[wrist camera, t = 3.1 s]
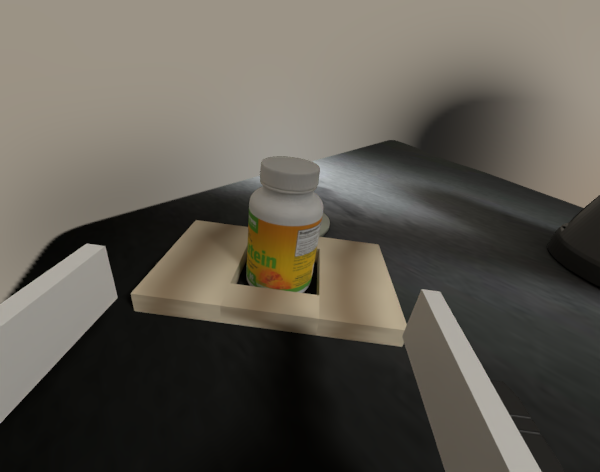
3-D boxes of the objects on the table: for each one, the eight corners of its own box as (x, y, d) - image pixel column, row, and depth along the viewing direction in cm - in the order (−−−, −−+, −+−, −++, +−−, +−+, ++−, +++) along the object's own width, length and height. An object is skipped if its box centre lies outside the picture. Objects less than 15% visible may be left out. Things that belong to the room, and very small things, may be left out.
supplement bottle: (232, 275, 24) (233, 157, 19) (279, 254, 27) (290, 150, 23) (277, 311, 21) (291, 182, 16) (323, 282, 24) (346, 169, 20)
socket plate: (374, 257, 29) (378, 244, 28) (402, 346, 19) (408, 330, 18) (196, 233, 29) (195, 220, 28) (134, 311, 19) (130, 293, 18)
